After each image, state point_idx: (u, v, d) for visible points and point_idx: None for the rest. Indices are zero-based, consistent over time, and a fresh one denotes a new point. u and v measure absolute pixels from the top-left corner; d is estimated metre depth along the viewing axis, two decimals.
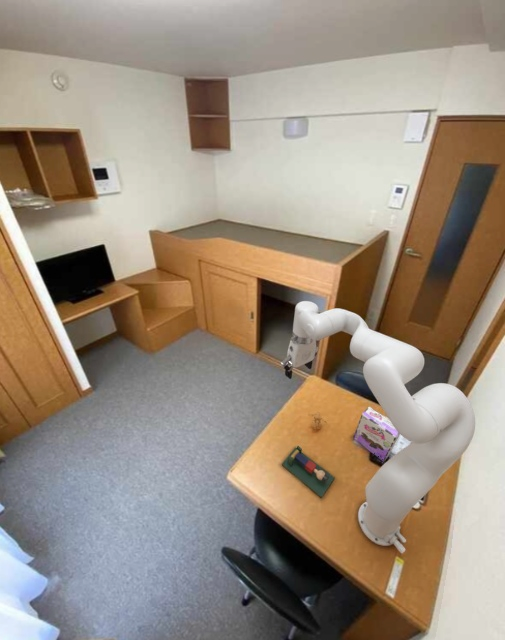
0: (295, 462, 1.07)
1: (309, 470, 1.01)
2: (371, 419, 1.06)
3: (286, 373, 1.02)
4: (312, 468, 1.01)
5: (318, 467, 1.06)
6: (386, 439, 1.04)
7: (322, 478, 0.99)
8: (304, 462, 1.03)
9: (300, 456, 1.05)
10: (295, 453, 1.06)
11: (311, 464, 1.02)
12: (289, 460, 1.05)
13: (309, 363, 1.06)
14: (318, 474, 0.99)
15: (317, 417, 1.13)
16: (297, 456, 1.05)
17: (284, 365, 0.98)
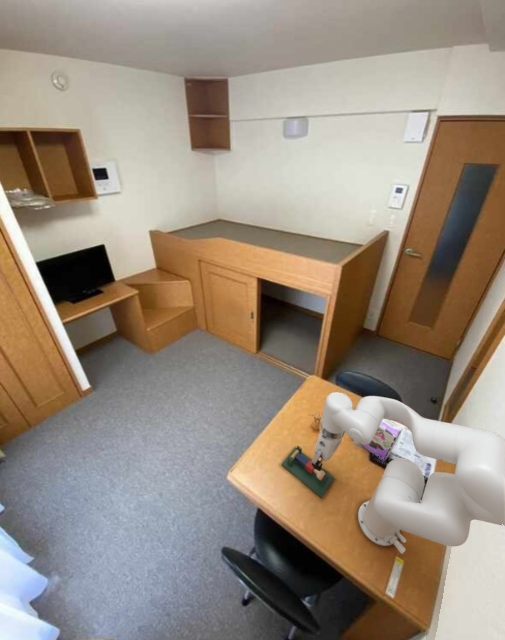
0: (295, 462, 1.07)
1: (309, 470, 1.01)
2: None
3: (315, 466, 0.91)
4: (312, 468, 1.01)
5: None
6: (386, 439, 1.04)
7: (322, 478, 0.99)
8: (304, 462, 1.03)
9: (300, 456, 1.05)
10: (295, 453, 1.06)
11: (311, 464, 1.02)
12: (289, 460, 1.05)
13: None
14: (318, 474, 0.99)
15: (317, 417, 1.13)
16: (297, 456, 1.05)
17: (316, 463, 0.86)
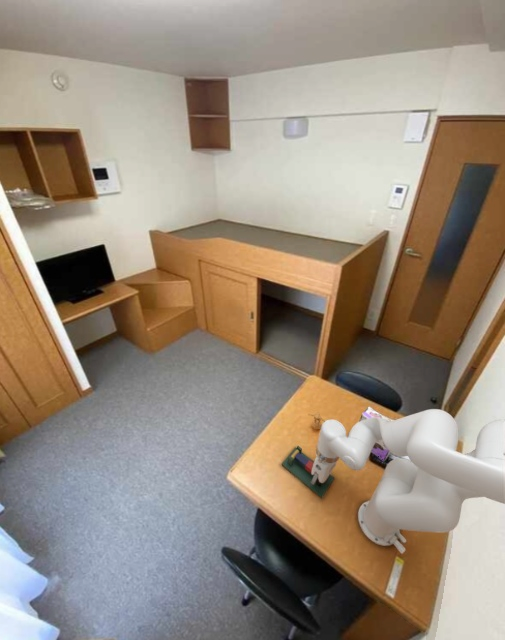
0: (295, 462, 1.07)
1: (309, 470, 1.01)
2: None
3: (316, 482, 0.99)
4: None
5: None
6: None
7: None
8: (304, 462, 1.03)
9: (300, 456, 1.05)
10: (295, 453, 1.06)
11: (311, 464, 1.02)
12: (289, 460, 1.05)
13: None
14: None
15: (317, 417, 1.13)
16: (297, 456, 1.05)
17: (315, 482, 0.94)
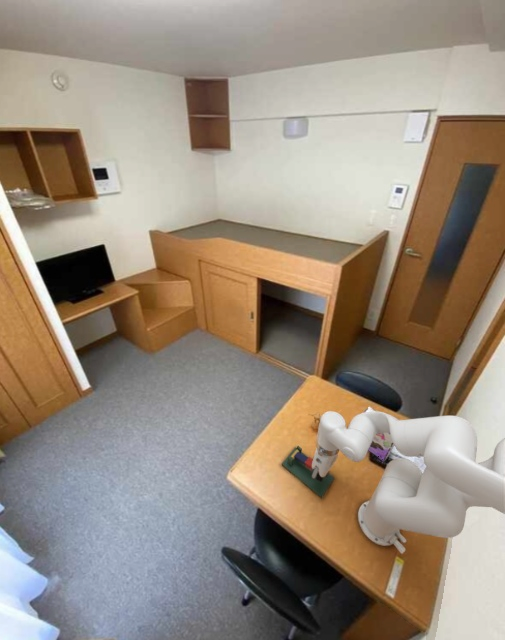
0: (295, 462, 1.07)
1: (309, 467, 1.01)
2: None
3: (317, 477, 0.97)
4: (311, 464, 1.00)
5: None
6: (386, 439, 1.04)
7: None
8: (303, 460, 1.03)
9: (299, 455, 1.05)
10: (295, 453, 1.06)
11: (310, 460, 1.02)
12: (289, 460, 1.05)
13: None
14: None
15: (317, 417, 1.13)
16: (296, 455, 1.05)
17: (316, 476, 0.93)
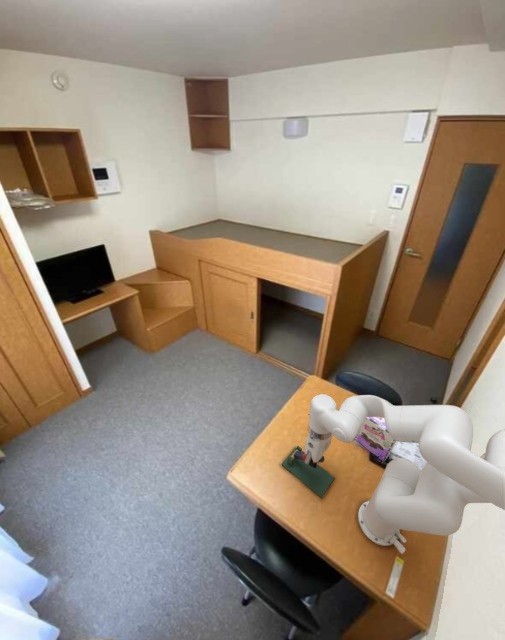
0: (295, 462, 1.07)
1: None
2: (371, 419, 1.06)
3: (311, 463, 0.96)
4: None
5: (318, 467, 1.06)
6: (386, 439, 1.04)
7: None
8: (301, 454, 1.02)
9: (298, 452, 1.05)
10: (294, 452, 1.07)
11: None
12: (289, 460, 1.05)
13: None
14: None
15: None
16: (295, 453, 1.05)
17: (309, 462, 0.92)
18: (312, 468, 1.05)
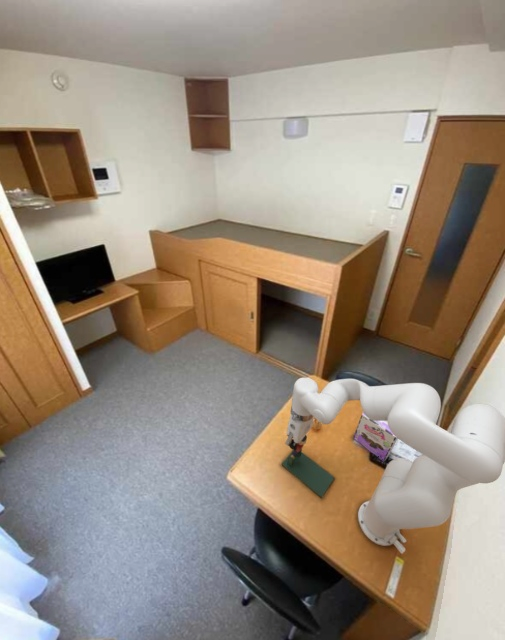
0: (295, 462, 1.07)
1: (297, 447, 1.01)
2: None
3: (291, 446, 0.99)
4: None
5: (318, 467, 1.06)
6: (386, 439, 1.04)
7: None
8: None
9: None
10: None
11: None
12: (289, 460, 1.05)
13: None
14: None
15: None
16: (293, 451, 1.06)
17: (289, 443, 0.94)
18: (312, 468, 1.05)
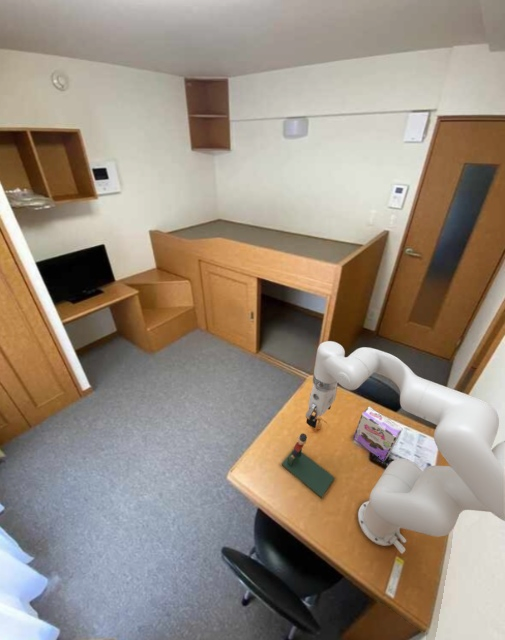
0: (295, 462, 1.07)
1: (297, 447, 1.01)
2: (371, 419, 1.06)
3: (309, 423, 0.89)
4: (296, 443, 1.02)
5: (318, 467, 1.06)
6: (386, 439, 1.04)
7: (299, 438, 0.98)
8: None
9: None
10: None
11: None
12: (289, 460, 1.05)
13: None
14: (297, 440, 1.00)
15: (317, 417, 1.13)
16: (293, 451, 1.06)
17: (310, 416, 0.84)
18: (312, 468, 1.05)
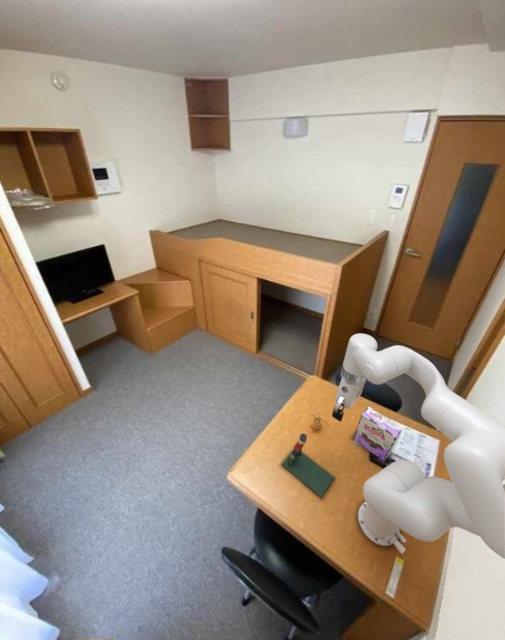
0: (295, 462, 1.07)
1: (297, 447, 1.01)
2: (371, 419, 1.06)
3: (336, 416, 0.88)
4: (296, 443, 1.02)
5: (318, 467, 1.06)
6: (386, 439, 1.04)
7: (299, 438, 0.98)
8: None
9: None
10: None
11: None
12: (289, 460, 1.05)
13: None
14: (297, 440, 1.00)
15: (317, 417, 1.13)
16: (293, 451, 1.06)
17: (338, 409, 0.83)
18: (312, 468, 1.05)
